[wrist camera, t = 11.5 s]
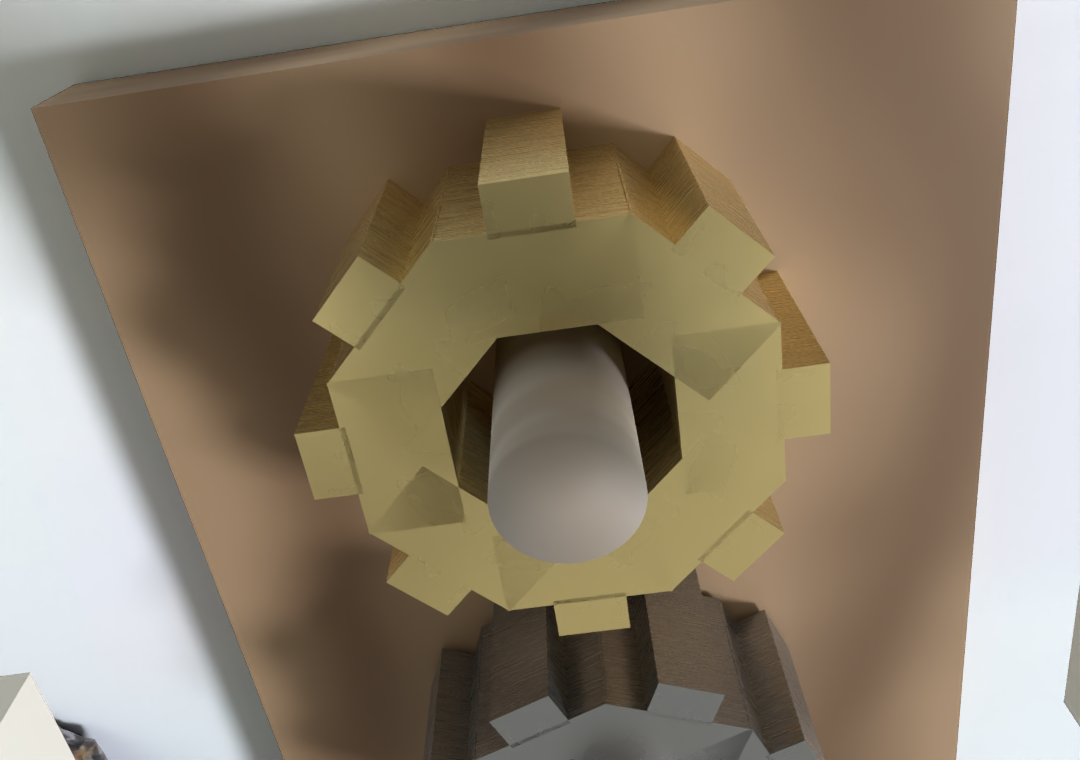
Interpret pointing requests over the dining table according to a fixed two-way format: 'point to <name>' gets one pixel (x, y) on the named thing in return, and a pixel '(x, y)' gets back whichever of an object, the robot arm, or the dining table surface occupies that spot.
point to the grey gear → (623, 688)
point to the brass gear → (552, 304)
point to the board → (637, 78)
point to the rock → (82, 746)
